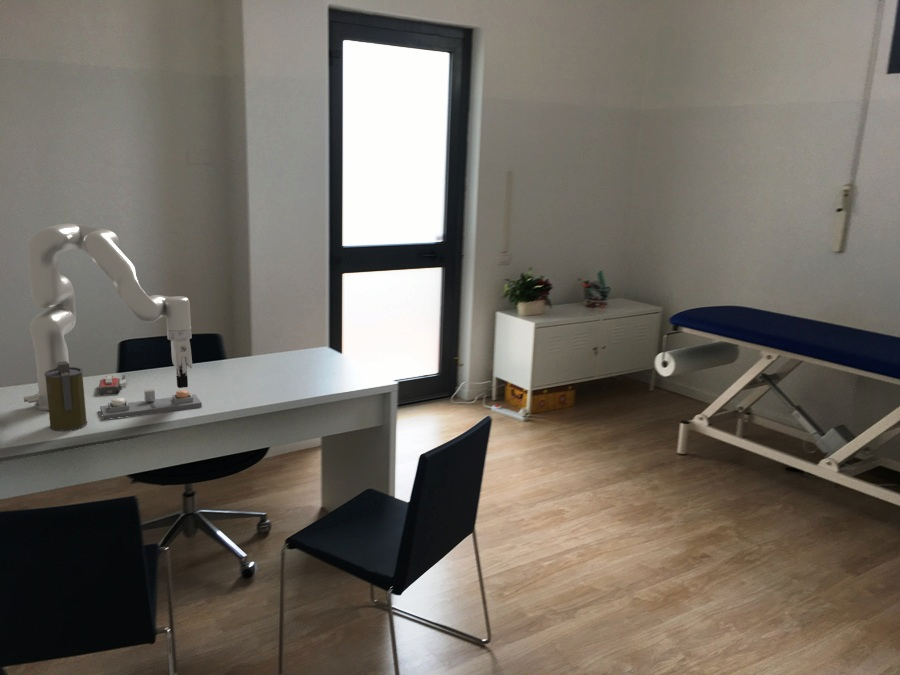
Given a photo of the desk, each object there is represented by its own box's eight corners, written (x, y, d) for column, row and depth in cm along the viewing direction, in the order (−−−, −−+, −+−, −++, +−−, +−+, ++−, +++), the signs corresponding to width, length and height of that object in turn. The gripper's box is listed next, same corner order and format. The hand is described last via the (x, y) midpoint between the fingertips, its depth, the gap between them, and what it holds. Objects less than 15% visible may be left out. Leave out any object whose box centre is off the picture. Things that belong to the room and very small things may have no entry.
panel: (104, 420, 232) (103, 411, 232) (100, 410, 241) (99, 401, 240) (201, 406, 247) (201, 398, 247) (195, 398, 256) (194, 390, 255)
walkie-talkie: (125, 395, 258) (127, 379, 276) (124, 383, 257) (126, 368, 275) (97, 397, 255) (101, 381, 273) (96, 385, 254) (100, 369, 272)
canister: (48, 423, 228) (42, 360, 224) (85, 417, 234) (80, 357, 229) (51, 434, 219) (44, 369, 215) (89, 428, 225) (84, 365, 220)
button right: (177, 399, 246) (177, 394, 245) (175, 396, 249) (175, 391, 249) (190, 397, 248) (189, 392, 247) (187, 394, 251) (187, 389, 251)
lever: (155, 400, 246) (154, 390, 245) (145, 402, 244) (144, 391, 244) (154, 399, 248) (153, 388, 247) (144, 400, 246) (143, 390, 245)
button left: (112, 407, 236) (112, 402, 235) (111, 404, 239) (110, 398, 239) (126, 406, 238) (125, 400, 237) (124, 402, 241) (123, 397, 241)
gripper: (196, 337, 239) (199, 391, 243) (186, 328, 251) (189, 379, 256) (171, 339, 235) (175, 394, 239) (163, 330, 248) (166, 382, 252)
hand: (182, 386), depth 248 cm, fingers closed
